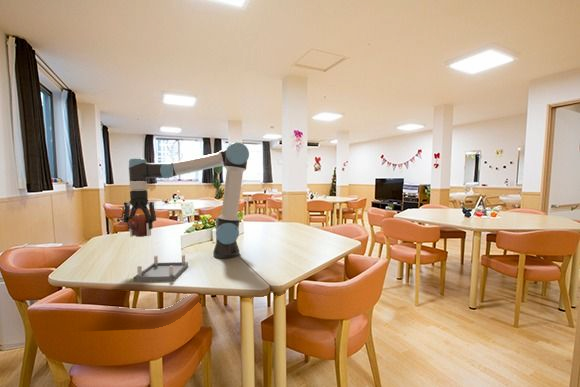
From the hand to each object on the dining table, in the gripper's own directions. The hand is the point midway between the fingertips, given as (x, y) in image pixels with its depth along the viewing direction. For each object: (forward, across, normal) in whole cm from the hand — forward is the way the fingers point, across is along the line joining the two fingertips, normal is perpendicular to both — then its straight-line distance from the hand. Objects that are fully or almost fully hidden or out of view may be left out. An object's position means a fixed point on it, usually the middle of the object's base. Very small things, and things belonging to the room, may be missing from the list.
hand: (140, 235), depth 130 cm
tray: (+17, -13, +7) cm, 23 cm away
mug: (0, 0, 0) cm, 1 cm away
